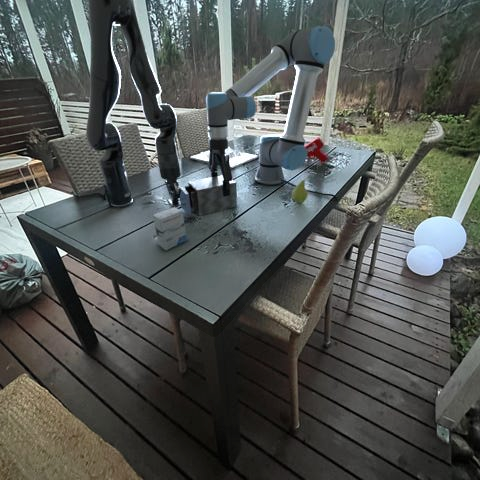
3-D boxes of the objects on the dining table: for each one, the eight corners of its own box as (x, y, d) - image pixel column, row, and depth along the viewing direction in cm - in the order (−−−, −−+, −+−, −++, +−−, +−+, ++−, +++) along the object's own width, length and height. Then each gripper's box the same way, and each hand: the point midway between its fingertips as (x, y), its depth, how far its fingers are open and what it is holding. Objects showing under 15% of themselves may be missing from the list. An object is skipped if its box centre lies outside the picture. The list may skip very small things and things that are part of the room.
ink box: (179, 235, 98) (174, 206, 91) (187, 241, 95) (183, 210, 88) (158, 245, 93) (151, 214, 86) (165, 250, 90) (159, 219, 83)
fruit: (288, 200, 123) (290, 174, 116) (302, 197, 125) (305, 172, 119) (296, 206, 118) (299, 179, 111) (310, 203, 120) (314, 177, 114)
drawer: (174, 219, 107) (171, 197, 102) (167, 209, 114) (164, 188, 109) (224, 207, 116) (223, 186, 111) (215, 198, 123) (213, 179, 118)
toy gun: (331, 157, 168) (319, 136, 164) (331, 159, 164) (318, 137, 160) (306, 172, 178) (294, 153, 174) (305, 174, 174) (292, 154, 170)
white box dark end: (199, 215, 111) (197, 190, 105) (190, 205, 119) (187, 181, 113) (236, 206, 118) (236, 182, 112) (225, 197, 126) (224, 174, 120)
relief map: (232, 168, 162) (231, 159, 159) (190, 158, 179) (189, 150, 177) (257, 157, 180) (257, 149, 177) (217, 149, 198) (217, 142, 195)
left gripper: (154, 161, 104) (162, 203, 113) (164, 171, 94) (172, 215, 104) (173, 158, 107) (179, 199, 116) (184, 167, 97) (190, 210, 107)
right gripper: (198, 133, 112) (202, 184, 124) (222, 145, 95) (224, 202, 107) (214, 131, 115) (217, 181, 127) (241, 142, 98) (241, 199, 110)
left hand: (176, 206), depth 110 cm, fingers closed
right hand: (220, 191), depth 117 cm, fingers closed on white box dark end, 11 cm apart
